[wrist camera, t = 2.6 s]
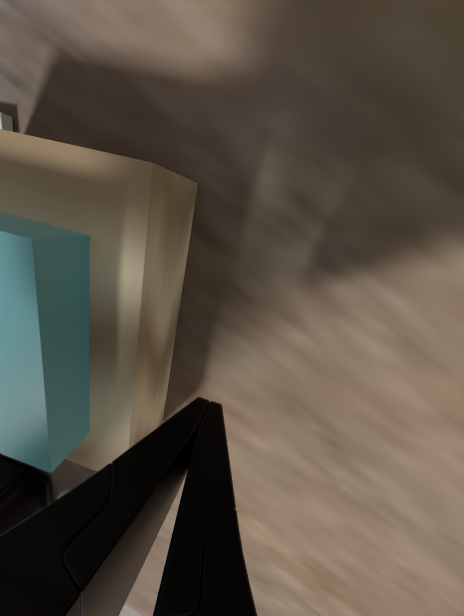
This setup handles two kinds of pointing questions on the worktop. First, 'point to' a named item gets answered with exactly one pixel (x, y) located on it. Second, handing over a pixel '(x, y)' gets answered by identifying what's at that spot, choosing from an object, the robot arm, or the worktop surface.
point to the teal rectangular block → (43, 341)
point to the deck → (112, 272)
